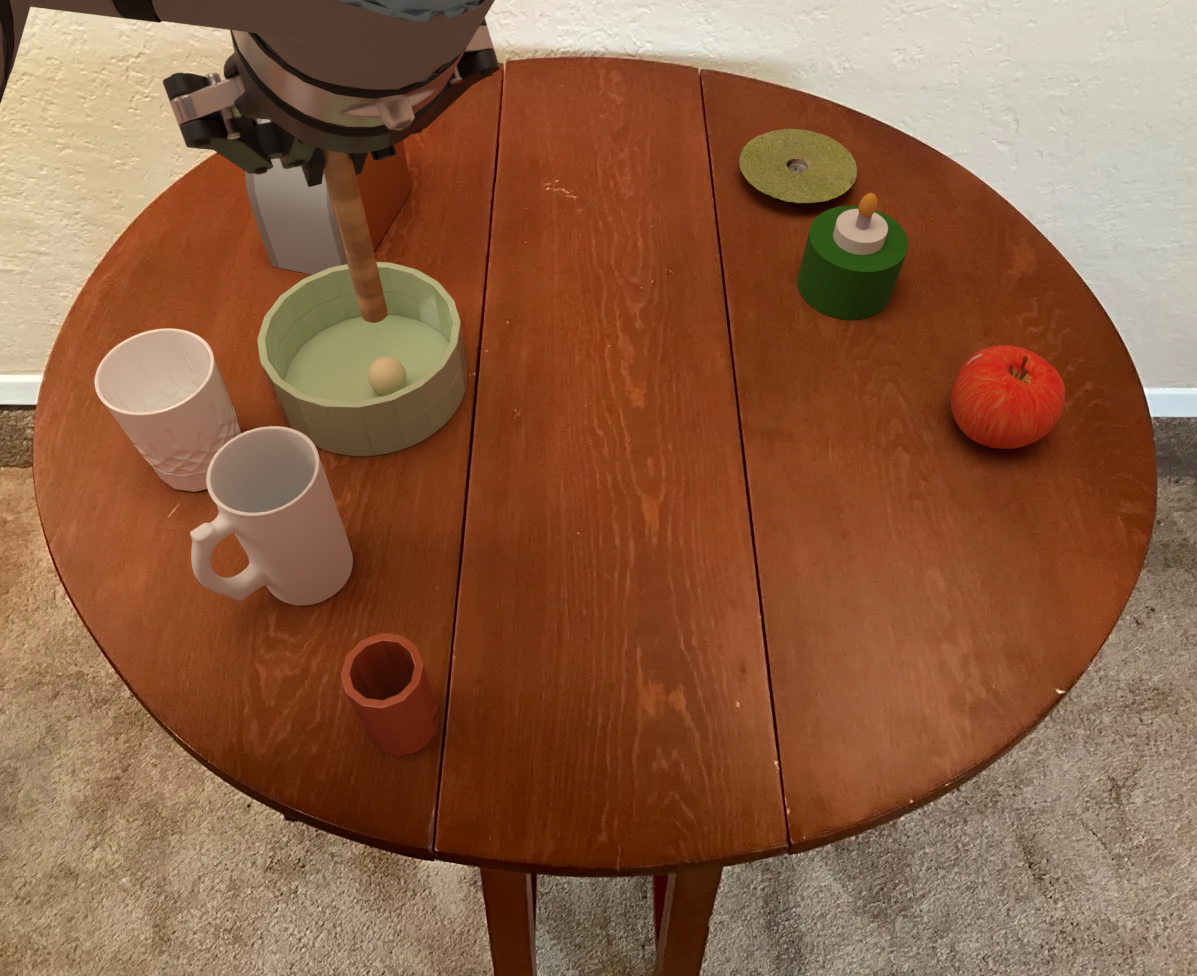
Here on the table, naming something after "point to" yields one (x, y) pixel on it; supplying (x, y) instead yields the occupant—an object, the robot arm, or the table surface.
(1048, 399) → the apple
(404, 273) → the bowl
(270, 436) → the mug
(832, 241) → the candle
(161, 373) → the white cup
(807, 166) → the mat
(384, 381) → the dough ball
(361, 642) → the crock
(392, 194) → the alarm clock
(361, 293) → the stick
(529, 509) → the table surface
